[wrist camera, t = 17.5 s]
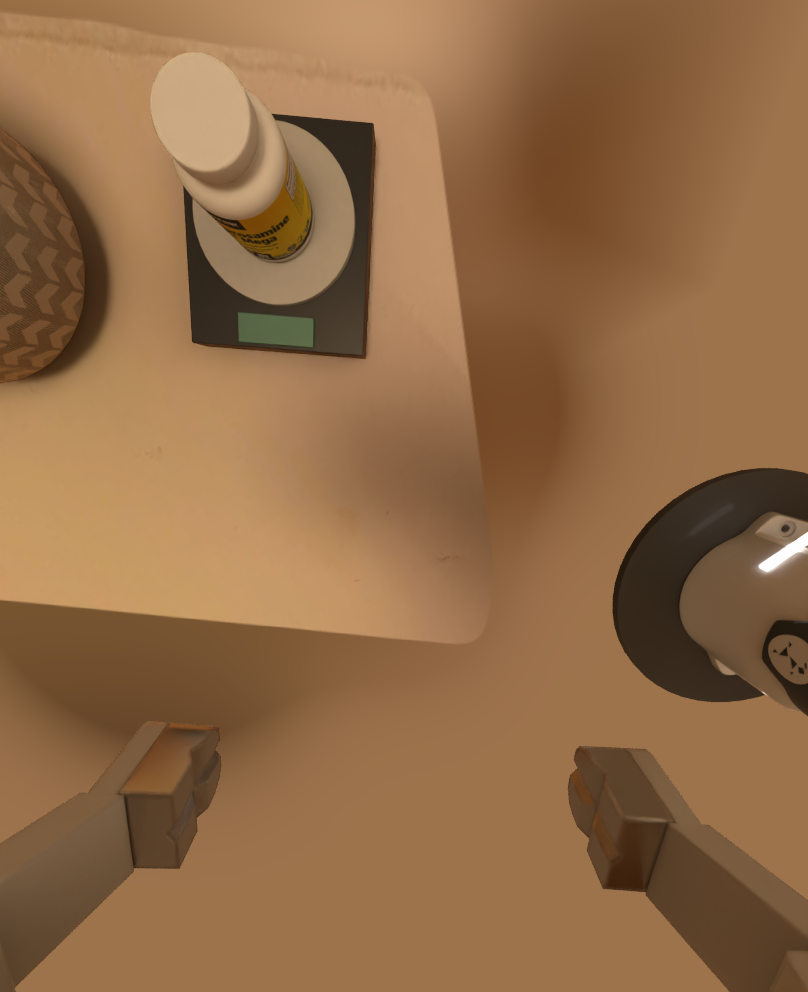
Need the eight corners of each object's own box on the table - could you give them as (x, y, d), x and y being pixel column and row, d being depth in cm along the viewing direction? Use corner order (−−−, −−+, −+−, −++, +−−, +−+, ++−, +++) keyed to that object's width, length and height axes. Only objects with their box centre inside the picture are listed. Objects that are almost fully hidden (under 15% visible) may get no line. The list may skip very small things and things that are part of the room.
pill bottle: (238, 266, 29) (144, 191, 19) (227, 170, 28) (118, 30, 17) (319, 264, 29) (272, 187, 19) (312, 168, 28) (257, 26, 17)
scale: (375, 143, 30) (372, 114, 27) (365, 358, 34) (362, 355, 31) (195, 127, 30) (171, 96, 27) (206, 346, 34) (186, 341, 31)
